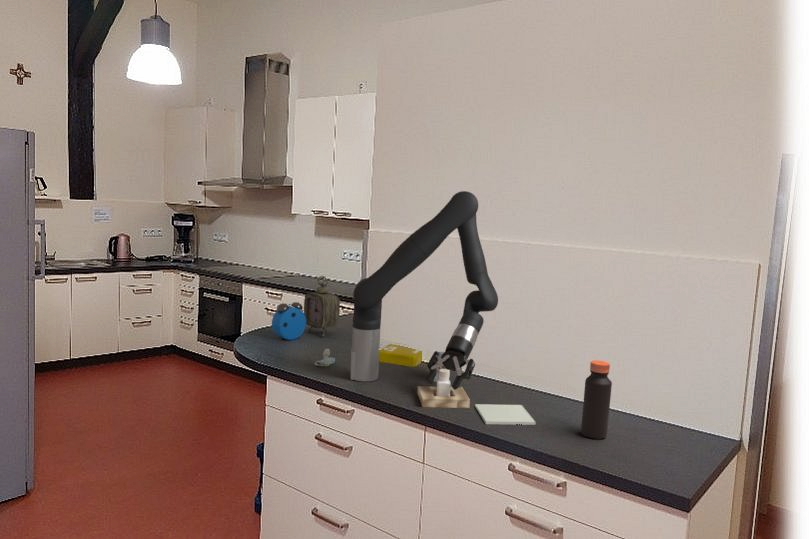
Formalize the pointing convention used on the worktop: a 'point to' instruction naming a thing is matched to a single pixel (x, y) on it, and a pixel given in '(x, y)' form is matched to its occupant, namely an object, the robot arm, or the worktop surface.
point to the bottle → (596, 401)
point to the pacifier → (325, 359)
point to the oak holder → (443, 398)
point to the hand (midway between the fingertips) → (441, 385)
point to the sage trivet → (504, 414)
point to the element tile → (400, 355)
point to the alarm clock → (289, 321)
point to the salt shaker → (443, 383)
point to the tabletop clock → (321, 308)
